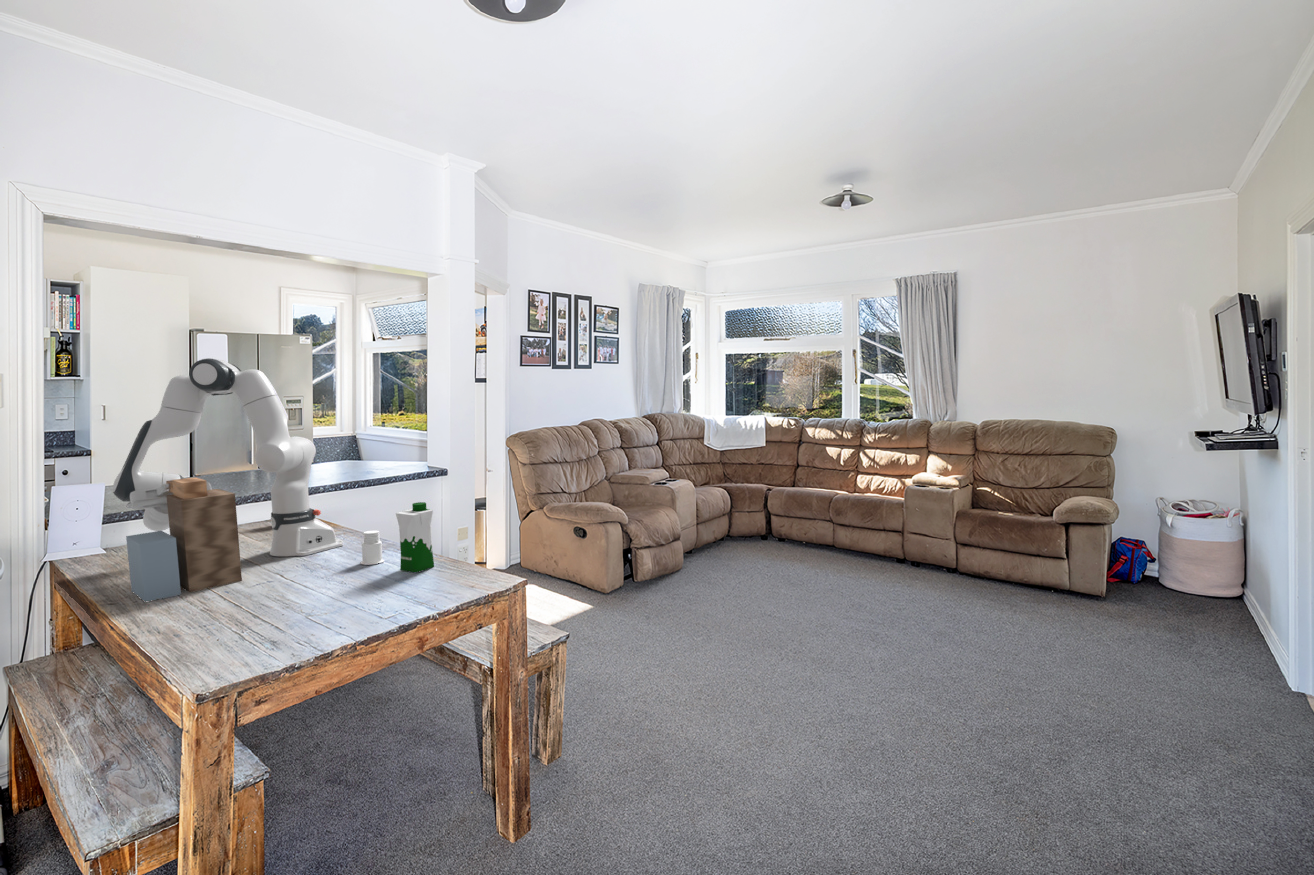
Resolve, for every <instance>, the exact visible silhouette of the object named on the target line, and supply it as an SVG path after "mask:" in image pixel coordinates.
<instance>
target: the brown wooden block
mask: <svg viewBox="0 0 1314 875" xmlns="http://www.w3.org/2000/svg"><path fill="white" fill-rule="evenodd" d="M206 482H207V479H202V478H199V477H196V476H195V477H186V478H184V479H176V480H170V481H166V484H170V487H171V489H170V491H169V492H172V493H173V495H174V496H177V497H179V498H182V499H190V498H197V497H205V496H208V494H207V483H206Z"/></svg>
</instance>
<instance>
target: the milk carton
mask: <svg viewBox="0 0 1314 875" xmlns="http://www.w3.org/2000/svg"><path fill="white" fill-rule="evenodd" d="M433 513H434V512H433V509H430V508H429V509H428V508H427V502H424V501H423V502H421V501H419V502H418V501H417V502H414V503H412V508H410V509H406V510H405V509H404V510H402V511H400V512H396V513H395V515H396V519H397V522H398V528H399V529H398V530H399V545H400V546H399V548H400V569H399V570H400V571H403V572H408V571H410V573H414V572H418V573H420V572H419V571H421V572H423V571H422V570H424V571H426V570H429V569H431V568H434V567H435V561H434V554H433V537H432V520H433ZM428 568H429V569H428ZM425 569H426V570H425Z"/></svg>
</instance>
